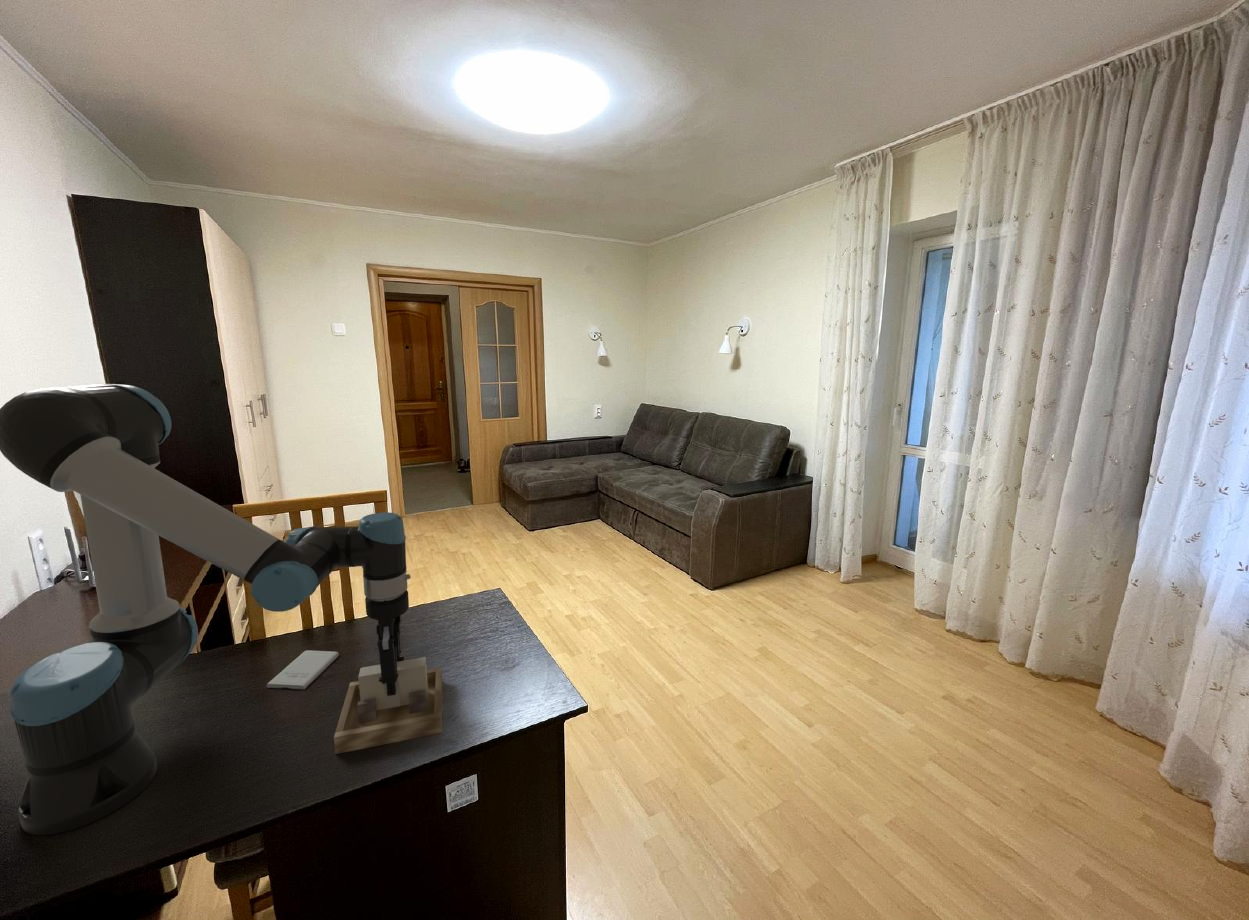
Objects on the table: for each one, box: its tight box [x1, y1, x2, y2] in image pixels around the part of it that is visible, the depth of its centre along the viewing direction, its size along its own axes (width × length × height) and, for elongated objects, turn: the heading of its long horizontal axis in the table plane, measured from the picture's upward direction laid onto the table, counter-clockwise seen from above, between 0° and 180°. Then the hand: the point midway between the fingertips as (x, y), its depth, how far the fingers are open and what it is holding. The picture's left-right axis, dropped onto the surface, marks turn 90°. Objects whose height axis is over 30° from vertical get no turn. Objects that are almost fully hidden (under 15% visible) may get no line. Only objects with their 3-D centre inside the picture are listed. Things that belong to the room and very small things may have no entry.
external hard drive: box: [266, 650, 339, 690], centre depth 112 cm, size 2×8×12 cm
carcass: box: [333, 667, 443, 755], centre depth 99 cm, size 18×16×5 cm
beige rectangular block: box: [357, 656, 428, 710], centre depth 100 cm, size 12×3×8 cm, turn 109°
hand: (394, 699), depth 100 cm, fingers closed on beige rectangular block, 3 cm apart
